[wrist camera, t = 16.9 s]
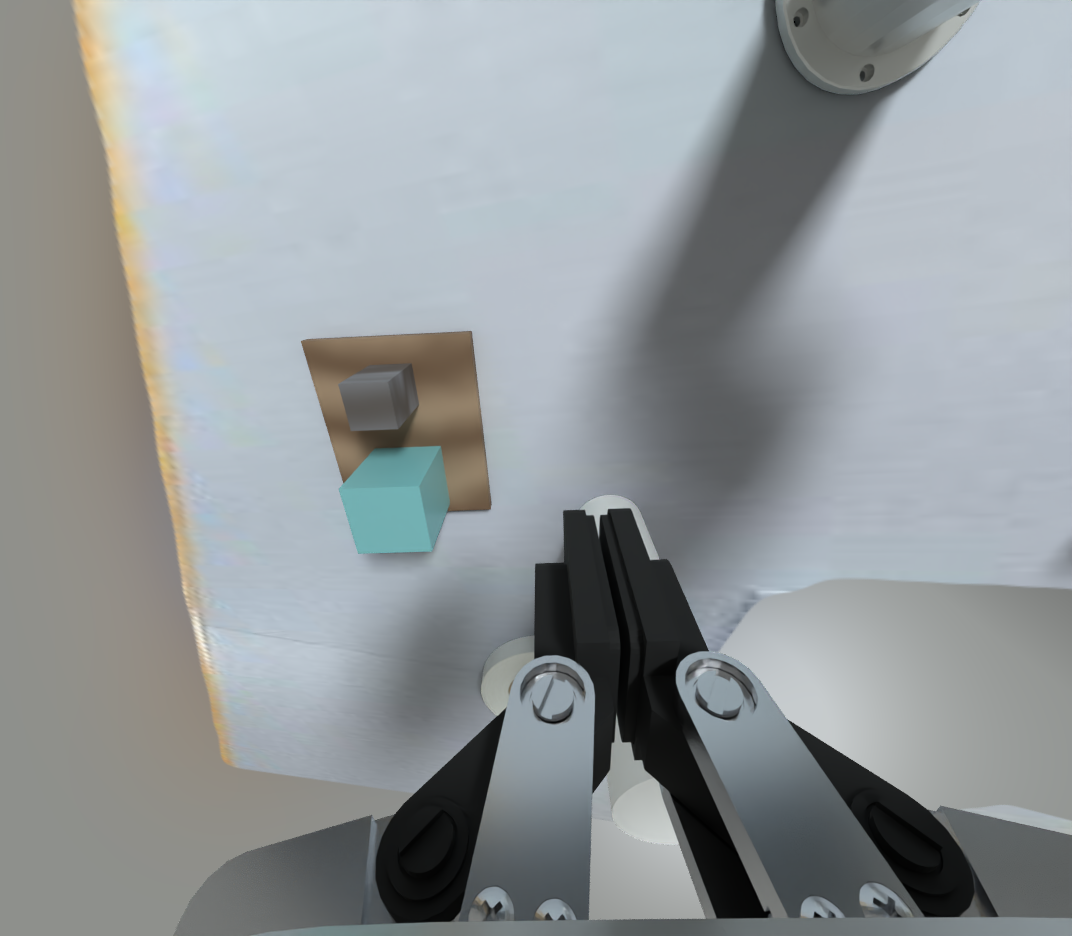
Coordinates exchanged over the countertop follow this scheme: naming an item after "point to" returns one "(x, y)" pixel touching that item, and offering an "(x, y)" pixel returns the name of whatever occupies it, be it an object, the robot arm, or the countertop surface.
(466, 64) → the countertop surface
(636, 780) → the cylindrical container
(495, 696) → the roll of tape
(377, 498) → the aqua foam cube
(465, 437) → the walnut board
